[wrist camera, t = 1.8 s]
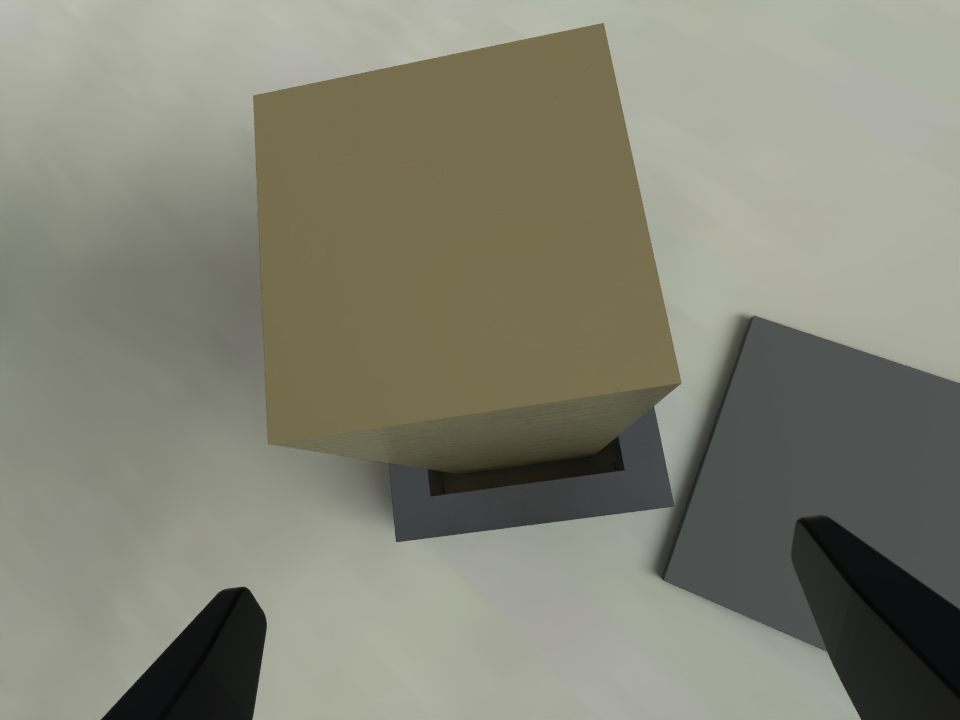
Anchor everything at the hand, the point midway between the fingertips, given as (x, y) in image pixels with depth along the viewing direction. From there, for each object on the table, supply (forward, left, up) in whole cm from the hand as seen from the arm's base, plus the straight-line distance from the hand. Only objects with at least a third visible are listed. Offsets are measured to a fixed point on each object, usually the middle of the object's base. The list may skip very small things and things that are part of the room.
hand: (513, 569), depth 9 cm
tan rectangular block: (+4, +2, -12) cm, 13 cm away
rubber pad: (+5, -10, -12) cm, 16 cm away
